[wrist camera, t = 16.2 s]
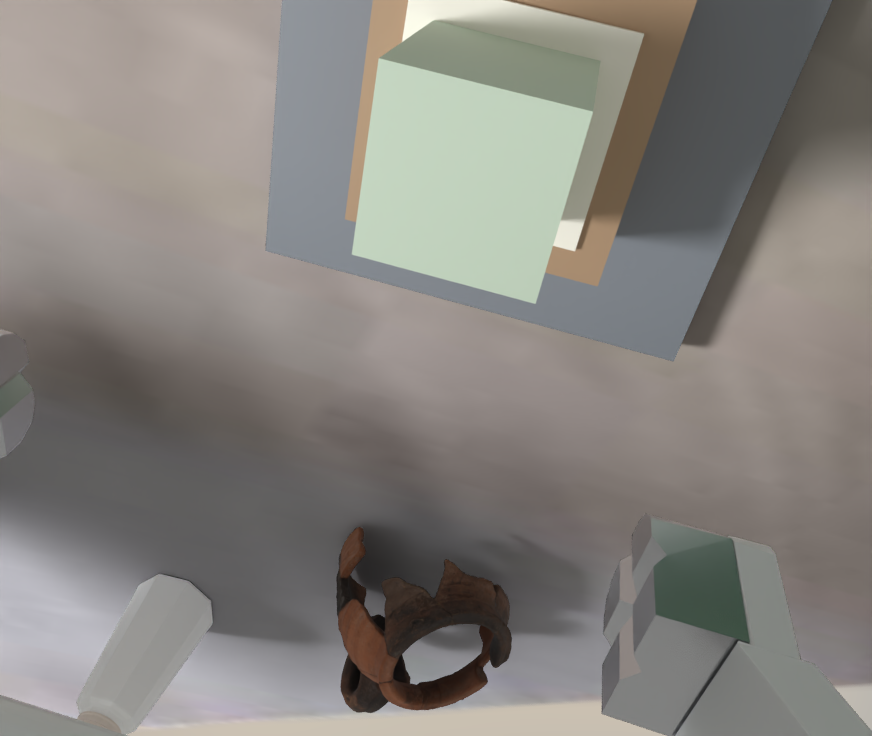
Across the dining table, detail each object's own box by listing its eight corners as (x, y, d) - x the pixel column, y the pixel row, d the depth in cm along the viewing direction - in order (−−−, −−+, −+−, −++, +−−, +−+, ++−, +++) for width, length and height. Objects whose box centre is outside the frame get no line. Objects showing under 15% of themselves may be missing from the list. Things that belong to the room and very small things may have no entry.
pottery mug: (361, 480, 41) (402, 595, 35) (502, 505, 46) (563, 611, 39) (282, 635, 46) (306, 763, 39) (418, 644, 50) (460, 760, 43)
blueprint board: (671, 343, 33) (680, 427, 28) (278, 237, 34) (217, 299, 29) (884, -151, 23) (960, -162, 18) (317, -275, 24) (234, -319, 19)
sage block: (553, 220, 25) (535, 303, 20) (405, 181, 25) (351, 254, 20) (600, 61, 22) (593, 111, 17) (433, 20, 22) (378, 57, 17)
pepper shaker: (161, 630, 52) (63, 787, 43) (125, 574, 50) (13, 727, 41) (229, 629, 51) (141, 792, 42) (194, 570, 48) (94, 730, 39)
